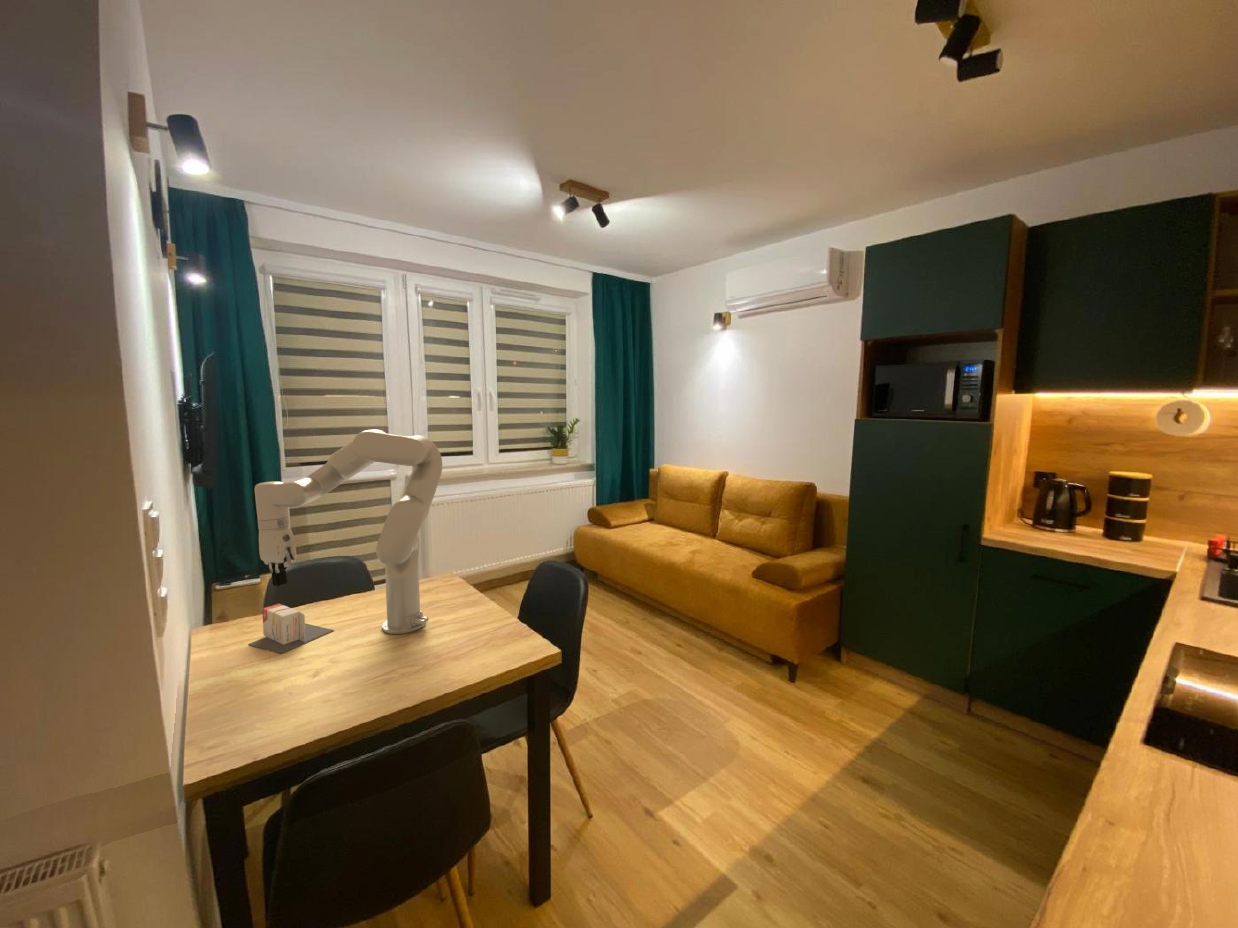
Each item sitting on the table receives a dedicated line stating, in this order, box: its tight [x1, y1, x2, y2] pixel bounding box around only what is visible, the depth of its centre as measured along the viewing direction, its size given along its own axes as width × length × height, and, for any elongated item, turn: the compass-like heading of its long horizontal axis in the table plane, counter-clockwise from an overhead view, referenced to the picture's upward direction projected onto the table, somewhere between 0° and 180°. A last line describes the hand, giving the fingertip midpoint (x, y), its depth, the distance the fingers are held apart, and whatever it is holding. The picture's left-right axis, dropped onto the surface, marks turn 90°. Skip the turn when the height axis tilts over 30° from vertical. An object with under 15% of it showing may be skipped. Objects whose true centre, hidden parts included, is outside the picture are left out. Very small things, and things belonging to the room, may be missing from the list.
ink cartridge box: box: [261, 603, 306, 645], centre depth 145 cm, size 9×5×15 cm
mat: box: [247, 622, 335, 655], centre depth 147 cm, size 14×16×1 cm
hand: (280, 584), depth 147 cm, fingers closed
